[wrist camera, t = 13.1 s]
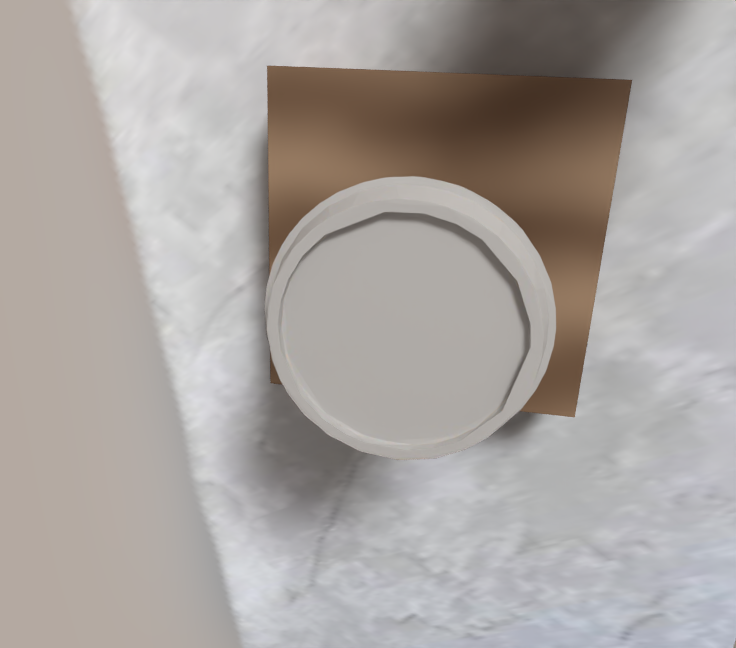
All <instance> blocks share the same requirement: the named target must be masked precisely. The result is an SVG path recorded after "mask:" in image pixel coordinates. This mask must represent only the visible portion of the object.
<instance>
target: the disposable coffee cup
mask: <svg viewBox="0 0 736 648" xmlns="http://www.w3.org/2000/svg"><path fill="white" fill-rule="evenodd" d="M264 310H265V321H266V332H267V338H268V342H269V345H270V351H271V356H272V361H273V363H274V366H275V368H276V371H277V373H278V376H279V379H280V381H281V382H282V384H283V386H284V388H285V389H286V391H287V393H288V395H289V396H290V397H291V399H292V400H293V401H294V402H295V404H296V405H297V406H298V407H299V409H300V410H301V411H302V413H303V414H304V415H305V416H306V417H307V418H309V419H310V420H311V421H312V422H313V423H315V424H316V425H317V426H318V427H319V428H321V429H322V430H323V431H324V432H325V433H327V434H328V435H329V436H331V437H333V438H335V439H337V440H339V441H341V442H343V443H345V444H347V445H349V446H351V447H352V448H354V449H356V450H358V451H361V452H365V453H370V454H374V455H378V456H383V457H387V458H392V459H396V460H406V459H435V458H439V457H442V456H445V455H449V454H452V453H456V452H459V451H463V450H465V449H467V448H469V447H471V446H473V445H475V444H477V443H479V442H481V441H483V440H485V439H487V438H488V437H489V436H490V435H492V434H493V433H494V432H495V431H497V430H498V429H499V428H500V427H502V426H503V425H504V424H505V423H506V422H507V421H508V420H509V419H511V418H512V417H513V416H514V415H515V414H516V413H517V412H519V411H520V410H521V409H522V408H523V406H524V405H525V404H526V402H527V401H528V400H529V398H530V397H531V396H532V395H533V393H534V392H535V391H536V389H537V387H538V385H539V383H540V381H541V379H542V378H543V376H544V374H545V372H546V370H547V366H548V363H549V360H550V357H551V353H552V350H553V347H554V340H555V333H556V307H555V301H554V295H553V290H552V284H551V281H550V278H549V276H548V274H547V271H546V269H545V266H544V264H543V262H542V259H541V257H540V255H539V253H538V252H537V250H536V249H535V247H534V246H533V244H532V243H531V241H530V240H529V238H528V237H527V236H526V234H525V233H524V231H523V230H522V229H521V228H520V227H519V225H518V224H517V223H516V222H515V221H514V220H513V219H511V218H510V217H509V216H508V215H507V214H506V213H504V212H503V211H502V210H501V209H500V208H498V207H497V206H496V205H494V204H493V203H491V202H490V201H489V200H487V199H485V198H483V197H481V196H479V195H478V194H476V193H474V192H472V191H470V190H468V189H466V188H464V187H461V186H459V185H455V184H452V183H448V182H445V181H440V180H435V179H430V178H425V177H416V176H409V177H386V178H380V179H376V180H371V181H367V182H363V183H360V184H357V185H355V186H352V187H350V188H347V189H344V190H342V191H339V192H337V193H336V194H334V195H332V196H331V197H329V198H328V199H326V200H324V201H323V202H321V203H320V204H318V205H317V206H316V207H315V208H314V209H312V210H311V211H310V212H309V213H308V214H306V215H305V216H304V217H303V218H302V219H301V220H300V221H299V223H298V224H297V225H296V226H295V227H294V229H293V230H292V231H291V232H290V233H289V235H288V236H287V238H286V239H285V241H284V243H283V244H282V246H281V248H280V250H279V252H278V254H277V256H276V258H275V260H274V262H273V265H272V269H271V272H270V276H269V279H268V283H267V287H266V297H265V308H264Z"/></svg>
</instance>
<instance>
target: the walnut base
mask: <svg viewBox="0 0 736 648" xmlns="http://www.w3.org/2000/svg"><path fill="white" fill-rule="evenodd" d="M631 83H632V80H619V79H594V78H568V77H543V76H518V75H492V74H467V73H442V72H416V71H391V70H365V69H340V68H315V67H289V66H267V88H268V184H269V276H270V272H271V269H272V265H273V262H274V260H275V258H276V256H277V254H278V252H279V250H280V248H281V246H282V244H283V243H284V241H285V239H286V238H287V236H288V235H289V233H290V232H291V231H292V230H293V229H294V227H295V226H296V225H297V224H298V223H299V221H300V220H301V219H302V218H303V217H304V216H305V215H306V214H308V213H309V212H310V211H311V210H312V209H314V208H315V207H316V206H317V205H318V204H320V203H321V202H323V201H324V200H326V199H328V198H329V197H331V196H332V195H334V194H336V193H337V192H339V191H342V190H344V189H347V188H350V187H352V186H355V185H357V184H360V183H363V182H367V181H371V180H376V179H380V178H386V177H409V176H416V177H425V178H430V179H435V180H440V181H445V182H448V183H452V184H455V185H459V186H461V187H464V188H466V189H468V190H470V191H472V192H474V193H476V194H478V195H479V196H481V197H483V198H485V199H487V200H489V201H490V202H491V203H493V204H494V205H496V206H497V207H498V208H500V209H501V210H502V211H503V212H504V213H506V214H507V215H508V216H509V217H510V218H511V219H513V220H514V221H515V222H516V223H517V224H518V225H519V227H520V228H521V229H522V230H523V231H524V233H525V234H526V236H527V237H528V238H529V240H530V241H531V243H532V244H533V246H534V247H535V249H536V250H537V252H538V253H539V255H540V257H541V259H542V262H543V264H544V266H545V269H546V271H547V274H548V276H549V278H550V281H551V284H552V290H553V295H554V301H555V307H556V333H555V340H554V347H553V350H552V353H551V357H550V360H549V363H548V366H547V370H546V372H545V374H544V376H543V378H542V379H541V381H540V383H539V385H538V387H537V389H536V391H535V392H534V393H533V395H532V396H531V397H530V398H529V400H528V401H527V402H526V404H525V405H524V406H523V408H522V409H521V410H520V411H524V412H532V413H541V414H550V415H559V416H568V417H575V412H576V406H577V400H578V394H579V388H580V382H581V376H582V371H583V365H584V359H585V353H586V347H587V341H588V335H589V330H590V324H591V318H592V312H593V306H594V300H595V294H596V288H597V283H598V277H599V271H600V265H601V259H602V253H603V247H604V242H605V236H606V230H607V224H608V218H609V212H610V206H611V201H612V195H613V189H614V183H615V177H616V171H617V165H618V159H619V154H620V148H621V142H622V136H623V130H624V124H625V118H626V113H627V107H628V101H629V95H630V89H631ZM270 374H271V383H274V384H282V382H281V381H280V379H279V376H278V373H277V371H276V368H275V366H274V363H273V361H272V356H271V351H270Z"/></svg>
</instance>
